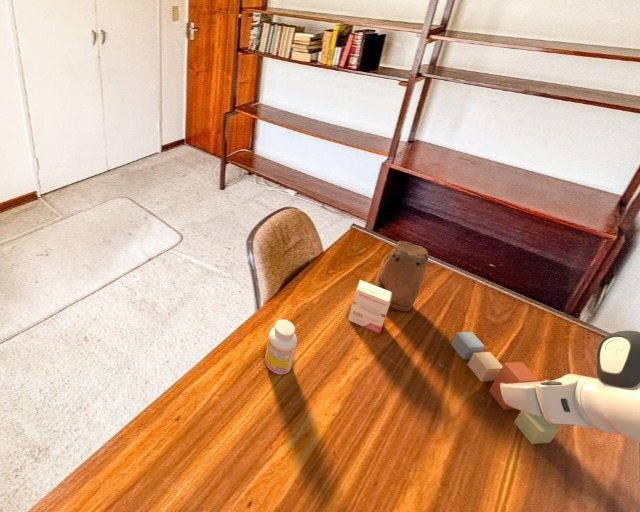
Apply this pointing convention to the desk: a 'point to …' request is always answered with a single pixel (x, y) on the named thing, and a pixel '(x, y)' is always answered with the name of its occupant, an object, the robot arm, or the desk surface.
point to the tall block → (511, 380)
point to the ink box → (370, 306)
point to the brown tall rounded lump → (402, 274)
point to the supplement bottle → (281, 347)
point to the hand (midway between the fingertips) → (522, 385)
